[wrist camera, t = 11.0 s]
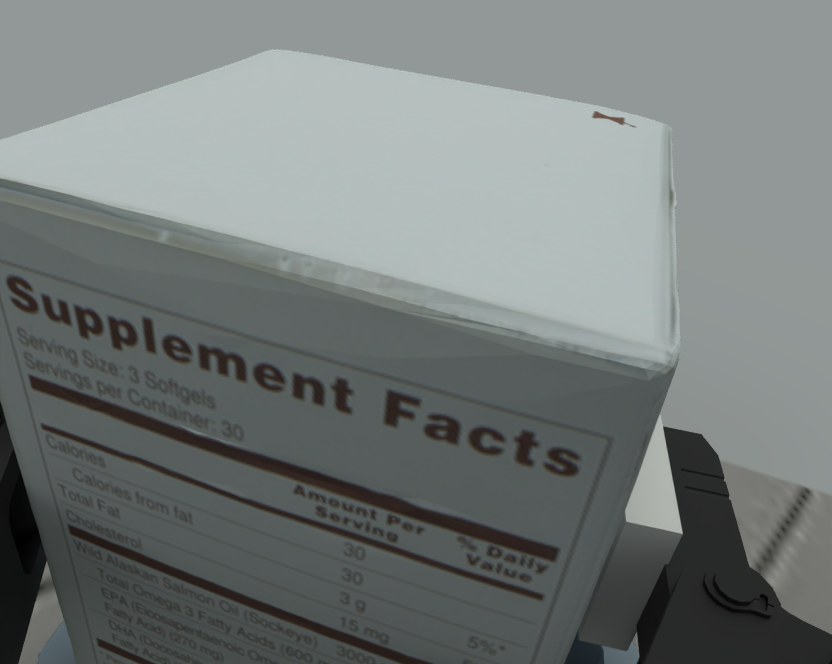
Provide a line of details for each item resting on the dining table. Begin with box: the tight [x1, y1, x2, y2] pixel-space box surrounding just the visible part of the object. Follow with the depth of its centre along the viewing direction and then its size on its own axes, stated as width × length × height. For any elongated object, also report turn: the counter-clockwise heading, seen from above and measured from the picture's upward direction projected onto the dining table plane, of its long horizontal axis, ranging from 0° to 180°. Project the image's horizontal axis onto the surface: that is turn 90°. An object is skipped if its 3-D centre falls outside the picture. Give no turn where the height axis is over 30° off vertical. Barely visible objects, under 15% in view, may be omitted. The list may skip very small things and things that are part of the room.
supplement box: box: [0, 49, 681, 664], centre depth 12 cm, size 7×7×13 cm
